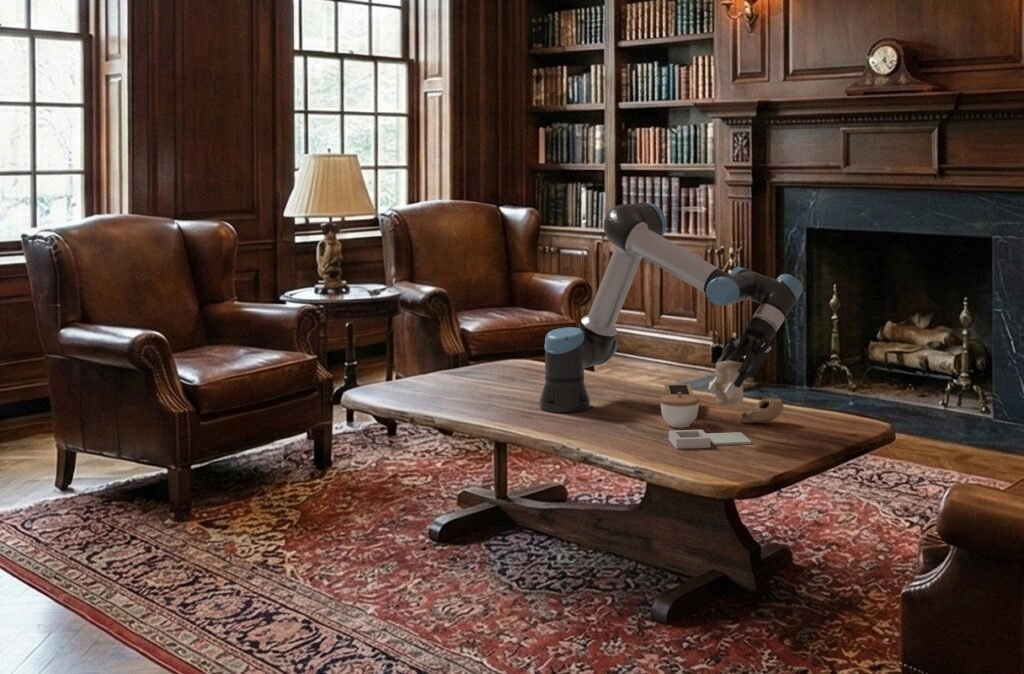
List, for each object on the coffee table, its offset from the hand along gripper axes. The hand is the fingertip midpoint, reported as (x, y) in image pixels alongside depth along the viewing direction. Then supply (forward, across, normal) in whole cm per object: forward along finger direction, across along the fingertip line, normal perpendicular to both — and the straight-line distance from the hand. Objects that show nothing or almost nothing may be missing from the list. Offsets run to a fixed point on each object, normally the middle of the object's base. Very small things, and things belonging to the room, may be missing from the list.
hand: (719, 393), depth 296 cm
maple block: (0, 0, -5) cm, 5 cm away
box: (-2, +31, -21) cm, 38 cm away
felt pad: (+7, 0, -12) cm, 14 cm away
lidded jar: (+6, +20, -13) cm, 24 cm away
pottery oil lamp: (-7, +8, -26) cm, 29 cm away
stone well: (+14, +4, -4) cm, 15 cm away
